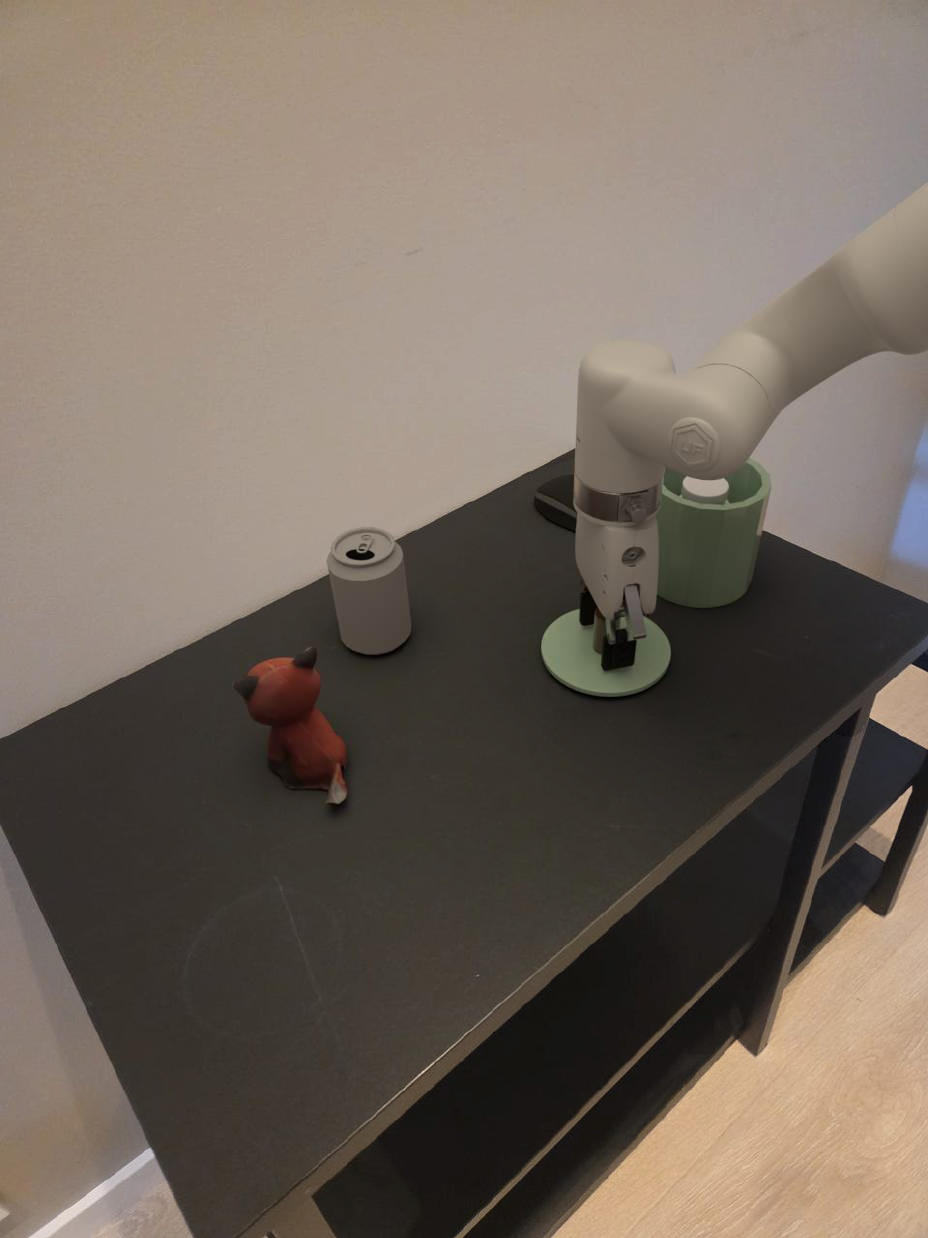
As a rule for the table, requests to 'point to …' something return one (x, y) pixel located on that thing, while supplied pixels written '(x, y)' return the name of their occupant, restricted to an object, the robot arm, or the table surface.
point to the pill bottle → (705, 491)
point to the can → (369, 590)
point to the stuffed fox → (295, 723)
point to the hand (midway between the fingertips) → (605, 642)
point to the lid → (580, 650)
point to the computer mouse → (558, 501)
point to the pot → (711, 539)
